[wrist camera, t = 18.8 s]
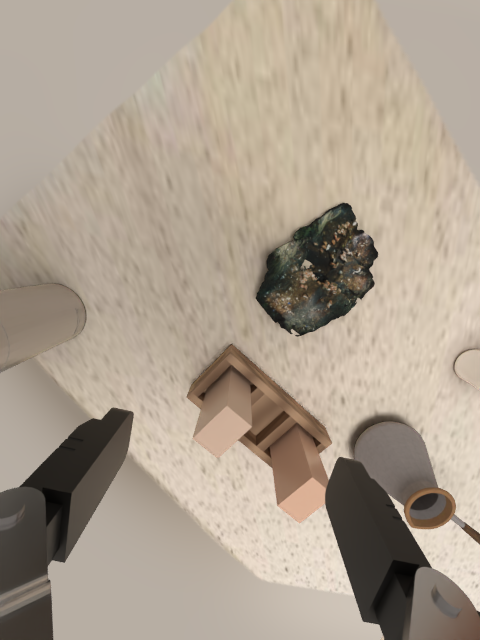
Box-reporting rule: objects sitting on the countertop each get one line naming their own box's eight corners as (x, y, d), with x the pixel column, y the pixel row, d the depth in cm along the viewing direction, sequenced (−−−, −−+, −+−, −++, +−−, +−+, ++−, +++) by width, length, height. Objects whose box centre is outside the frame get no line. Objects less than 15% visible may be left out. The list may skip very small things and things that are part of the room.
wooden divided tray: (191, 385, 45) (186, 397, 41) (231, 344, 43) (230, 352, 39) (283, 462, 48) (287, 480, 44) (324, 427, 46) (332, 443, 42)
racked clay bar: (206, 389, 43) (192, 438, 32) (231, 364, 42) (226, 405, 30) (224, 404, 44) (217, 458, 32) (250, 380, 43) (252, 426, 31)
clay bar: (268, 441, 45) (277, 505, 34) (294, 418, 44) (312, 477, 33) (285, 455, 46) (299, 523, 34) (311, 433, 45) (334, 495, 33)
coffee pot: (334, 448, 47) (374, 535, 33) (378, 401, 45) (442, 470, 30) (423, 505, 50) (498, 609, 35) (469, 463, 47) (569, 555, 33)
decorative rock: (338, 177, 34) (421, 257, 35) (324, 193, 40) (395, 261, 41) (238, 289, 36) (318, 362, 37) (239, 289, 42) (308, 351, 43)
